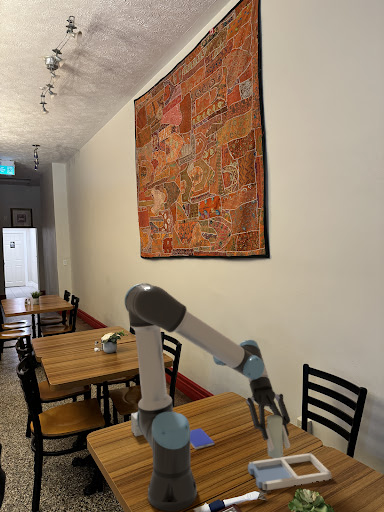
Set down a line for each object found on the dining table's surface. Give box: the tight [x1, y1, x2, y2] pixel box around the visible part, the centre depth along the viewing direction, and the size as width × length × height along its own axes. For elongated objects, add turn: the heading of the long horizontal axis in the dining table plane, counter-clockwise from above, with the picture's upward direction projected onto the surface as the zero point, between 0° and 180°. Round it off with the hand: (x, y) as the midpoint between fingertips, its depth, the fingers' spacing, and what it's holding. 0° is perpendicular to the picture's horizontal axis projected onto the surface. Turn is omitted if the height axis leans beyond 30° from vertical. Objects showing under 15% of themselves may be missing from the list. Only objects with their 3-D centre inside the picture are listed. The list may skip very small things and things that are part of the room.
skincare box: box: [130, 411, 144, 437], centre depth 152 cm, size 6×6×7 cm
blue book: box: [190, 427, 215, 450], centre depth 145 cm, size 2×8×12 cm
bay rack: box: [247, 452, 332, 491], centre depth 122 cm, size 25×12×2 cm, turn 102°
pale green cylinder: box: [266, 414, 284, 459], centre depth 121 cm, size 5×5×12 cm
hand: (280, 448), depth 117 cm, fingers closed on pale green cylinder, 5 cm apart
